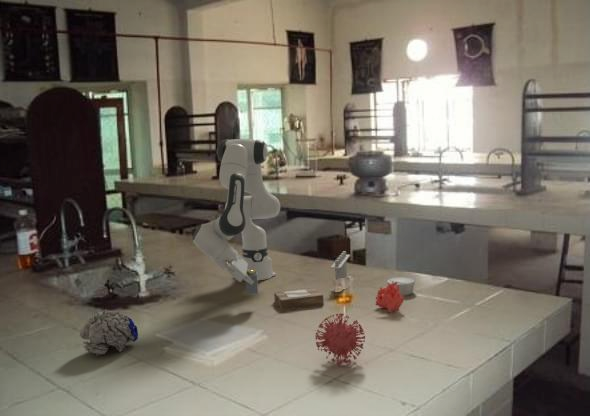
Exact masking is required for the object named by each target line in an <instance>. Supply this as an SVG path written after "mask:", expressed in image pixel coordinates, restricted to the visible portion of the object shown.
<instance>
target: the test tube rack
mask: <svg viewBox="0 0 590 416" xmlns="http://www.w3.org/2000/svg"><path fill="white" fill-rule="evenodd" d="M350 257H351V254H347V251H345V250H343V251H342V253H340V255H338V257H337V258H336V259H335V260H334V262H333V264H331V266H330V269H334V272H335V273H334V274H335V275H334V276H335V281H336V280H337V279H339V278H345V277H349V278H351V279H352V276H351V275H349V276H348V269H347V266H348V265H347V261H348V259H349V258H350ZM332 292H335V287H334V286H333V288H332V289H331V291H330V293H332Z"/></svg>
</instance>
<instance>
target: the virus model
mask: <svg viewBox="0 0 590 416" xmlns="http://www.w3.org/2000/svg"><path fill="white" fill-rule="evenodd" d="M344 315H345V313H336V314H331V315H329V316H328V317H325V318H324V319H323V320H322V321H321V323H319V324H318V328H320V329H323V330H324V331H325V332H324V331H321V330H319V329H316V332H315V338H314V339H315V340H319V341H315V345H316V347H317V351H321V352H323V351H324V352H325V353H328V355H327V356H326V357H325V359H328V357H329V355H331V354H333V357H332V359H330V360H331V361H332V362H333V363H335V360H337V362H336V365H342V364H343V363H344V364H348V363H350V362H351V359H350V358H352V357H353V360H357V357H359V356H360V354H361V352H362V350H363V349H364V347H363V346H364V343H365V342H366V335H365V331H364V329H363V327H362V325H361V324H360V323H359V321H358V320H357V319H356V320H353V322H352V324H351V323H350V324H349V325H348V324H347V323H348V320H349V318H350V316H348V314H347V315H346V316H344ZM334 316H336V318H335V317H334ZM332 318H333V320H331V319H332ZM343 318H344V320H343ZM328 319H329V320H328ZM324 325H325V326H324ZM361 335H362V336H361ZM320 348H321V349H320ZM359 348H360V349H359ZM353 352H354V353H355V354H353ZM356 356H357V357H356Z"/></svg>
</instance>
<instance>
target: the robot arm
mask: <svg viewBox="0 0 590 416" xmlns="http://www.w3.org/2000/svg"><path fill="white" fill-rule="evenodd" d="M268 151H269V150H268V146H267V144H266V142H265V141H264V140H261V139H250V138H237V139H222V140H220V141H219V142H218V144H217V148H216V155H217V159H218V161H219V162H220V169H219V173H218V174H219V183H220V184H221V186H223V188H225V189H227V199H226V203H225V204H224V205H225V206H224V211H223V212H222V214H221V215H219V217H218V218H216V219H214V220H212V221H210V222H207V223H201V224H199V226H197V228H196V229H195V231H194V233H193V234H192V242H193V243H194V244H195V246H196V247H197V248H198V249H199V250H200V251H201V252H202V253H203V254H204V255H206V256H208V257H209V258H210V259H211V260H212V262H214V263H215V264H216V265H217V266H219V268H220V269H222V270H224V269H225V268H226V271H227V273H228V274H230V275H231V276H232V277H233V278H234V280H236V281H238V282H239V283H242V281H244V282H245V283H246V282H248V283H249V284H250V285H252V284H253V283H254V280H253V279H252V278H250V277H249V276H248V275H247V274H246V273H247V272H248V270H255V271H257V277H258V281H264V280H268V279H271V278H272V277H274V276H276V275H277V273H276V272H274V271H273V264H272V258H270V256H269V250H268V247H267V232H266V231H265V229H264V228H262V227H261V226H259V225H257V224H255V223H254V222H253V220H260V219H261V220H262V219H264V220H265V219H270V218H271V219H272V218H275V217H277V216H279V213H280V211H281V201H280V200H279V199H278V198H277V196H275V195H274V194H272V193H271V192H270V191H269V190H268V189H267V188H266V185H265V183H264V180H263V172H262V164H263V163H264V162H265V161H266V160H267V157H268V154H269V152H268ZM245 193H248V194H249V195H245ZM239 234H241V240H242V249H241V254H239V253H238V251H237V249H236V248H235V247H233V246H231V245H230V244H229V243H228V241H229V240H232V239H233V238H234V237H235V236H238V235H239ZM241 255H242V256H241Z"/></svg>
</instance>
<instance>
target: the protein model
mask: <svg viewBox="0 0 590 416" xmlns="http://www.w3.org/2000/svg"><path fill="white" fill-rule="evenodd" d="M397 283H398V282H395V283H394V282H392V284H389V285H388V284H387V285H386V286H385V287H382V286H381V287H379V290H378V291H377V294H376V296H375V306H376V307H377V306H378V307H379V308H381V309H387V312H388V313H390V314H391V313H392V312H393V311H399V309H400V308H401V306H402V304H404V301H405V299H404V296H402V295H400V293H398V292H399V288H400V287H399V285H397V288H396V287H395V285H396V284H397ZM389 288H390V289H389Z"/></svg>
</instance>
